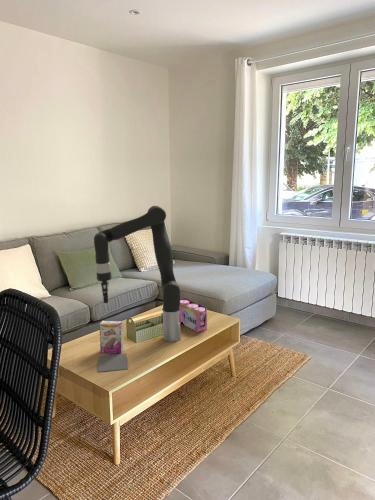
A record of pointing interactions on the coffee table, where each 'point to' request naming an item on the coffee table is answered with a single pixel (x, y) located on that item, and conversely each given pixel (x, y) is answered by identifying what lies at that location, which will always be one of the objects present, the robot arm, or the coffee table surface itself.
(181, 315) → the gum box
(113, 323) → the candy bar box
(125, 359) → the mat
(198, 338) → the coffee table surface
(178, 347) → the coffee table surface
